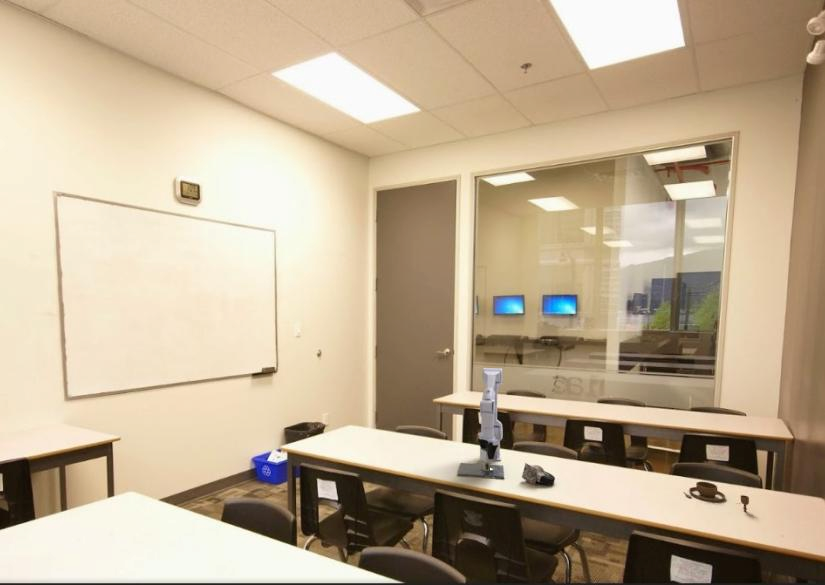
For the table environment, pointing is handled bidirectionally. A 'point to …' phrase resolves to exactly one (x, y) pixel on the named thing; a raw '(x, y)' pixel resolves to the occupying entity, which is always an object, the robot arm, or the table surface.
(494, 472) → the plate
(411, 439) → the table surface
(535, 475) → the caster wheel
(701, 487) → the place setting
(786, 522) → the table surface
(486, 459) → the collar
